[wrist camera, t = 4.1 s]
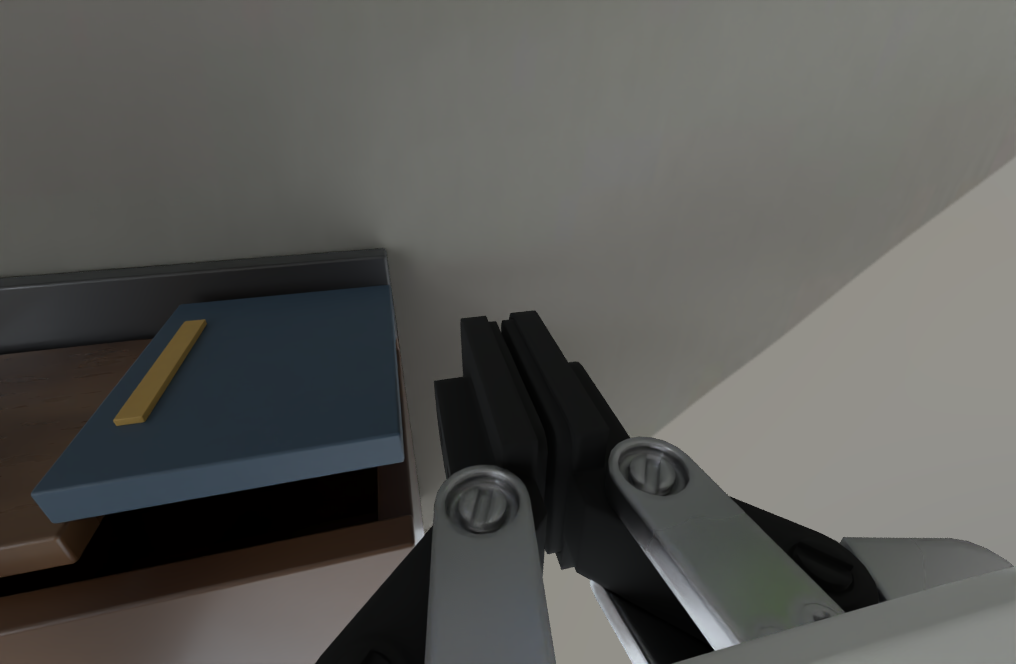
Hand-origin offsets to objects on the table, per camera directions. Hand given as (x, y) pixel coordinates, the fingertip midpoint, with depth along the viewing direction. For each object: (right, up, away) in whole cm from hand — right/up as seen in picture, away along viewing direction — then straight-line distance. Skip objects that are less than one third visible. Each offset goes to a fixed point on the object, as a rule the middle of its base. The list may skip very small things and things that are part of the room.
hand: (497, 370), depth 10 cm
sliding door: (-6, +2, +4) cm, 8 cm away
